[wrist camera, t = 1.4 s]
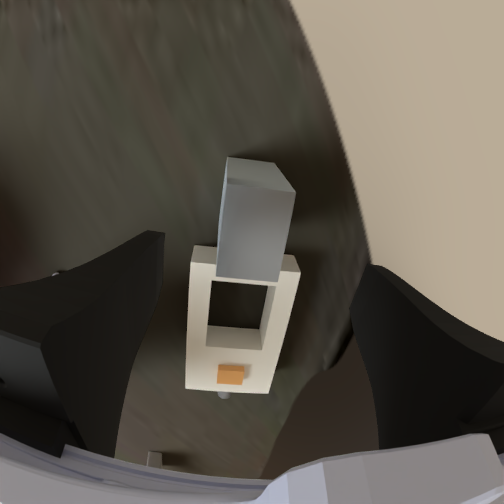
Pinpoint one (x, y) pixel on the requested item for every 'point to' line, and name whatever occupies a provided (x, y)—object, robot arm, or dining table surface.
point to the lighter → (154, 460)
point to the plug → (253, 220)
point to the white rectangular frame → (235, 331)
